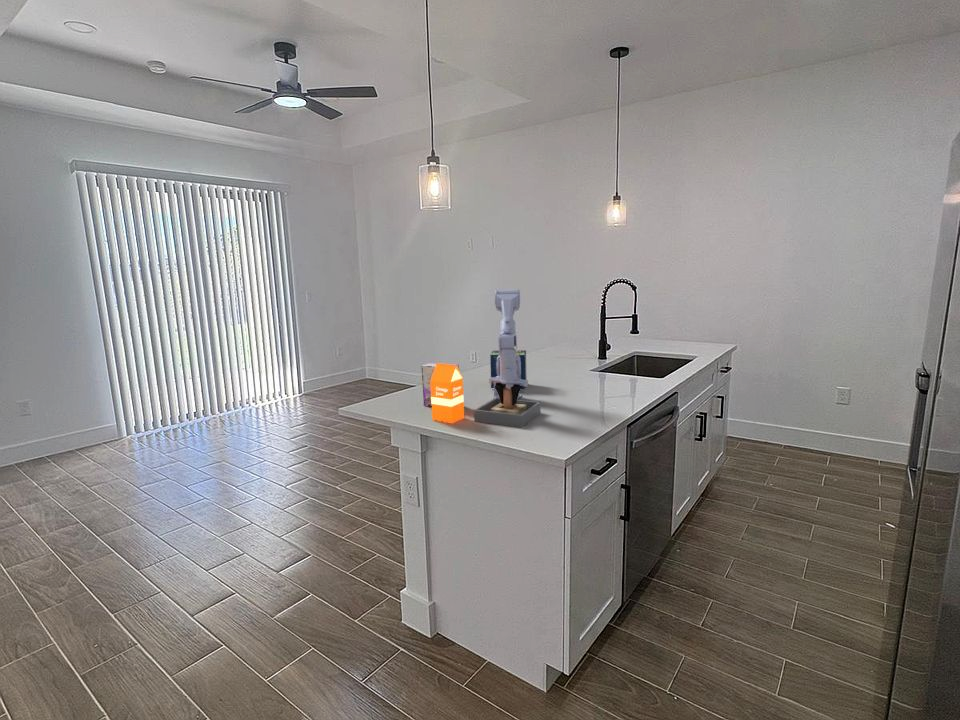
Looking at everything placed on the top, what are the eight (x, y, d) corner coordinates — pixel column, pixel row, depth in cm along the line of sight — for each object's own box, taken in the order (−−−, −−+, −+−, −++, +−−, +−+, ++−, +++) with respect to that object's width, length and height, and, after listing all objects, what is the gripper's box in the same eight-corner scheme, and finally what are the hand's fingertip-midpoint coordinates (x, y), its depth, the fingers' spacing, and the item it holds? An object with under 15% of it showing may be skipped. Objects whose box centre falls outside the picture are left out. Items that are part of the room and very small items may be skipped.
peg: (501, 411, 187) (501, 389, 185) (506, 408, 190) (506, 387, 188) (511, 412, 184) (510, 390, 183) (516, 409, 188) (516, 388, 186)
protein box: (493, 383, 235) (492, 350, 232) (526, 383, 233) (526, 350, 230) (490, 389, 225) (489, 354, 222) (525, 389, 223) (525, 354, 220)
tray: (474, 421, 180) (473, 410, 180) (495, 407, 196) (495, 397, 195) (521, 427, 172) (521, 415, 172) (540, 412, 188) (540, 402, 187)
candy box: (461, 405, 201) (459, 364, 198) (454, 409, 196) (452, 367, 193) (430, 402, 207) (428, 362, 204) (423, 406, 201) (420, 364, 198)
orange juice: (452, 423, 178) (449, 367, 175) (431, 420, 183) (429, 365, 179) (464, 417, 185) (462, 363, 181) (444, 414, 190) (442, 361, 186)
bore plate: (490, 414, 185) (490, 409, 185) (502, 407, 194) (501, 402, 193) (516, 417, 181) (516, 411, 180) (526, 409, 189) (526, 404, 189)
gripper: (484, 368, 184) (485, 404, 186) (522, 370, 177) (523, 408, 180) (493, 364, 190) (494, 399, 192) (530, 366, 183) (530, 403, 186)
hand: (508, 403), depth 187 cm, fingers closed on peg, 4 cm apart
